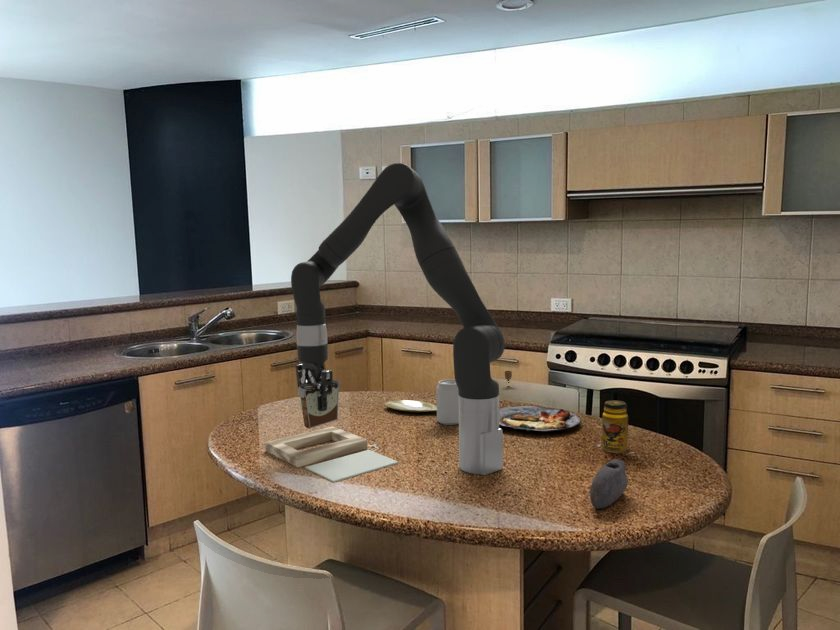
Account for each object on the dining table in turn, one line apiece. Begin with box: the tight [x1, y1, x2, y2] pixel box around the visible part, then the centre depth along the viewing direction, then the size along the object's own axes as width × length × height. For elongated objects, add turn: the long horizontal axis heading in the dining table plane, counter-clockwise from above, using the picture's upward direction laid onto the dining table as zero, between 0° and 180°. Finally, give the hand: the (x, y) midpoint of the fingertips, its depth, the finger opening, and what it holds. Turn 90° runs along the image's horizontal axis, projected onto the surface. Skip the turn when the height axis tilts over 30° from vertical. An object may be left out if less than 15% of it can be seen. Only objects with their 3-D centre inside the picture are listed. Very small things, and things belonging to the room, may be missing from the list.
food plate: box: [499, 405, 582, 432], centre depth 189 cm, size 25×23×4 cm
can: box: [435, 379, 459, 426], centre depth 192 cm, size 8×8×12 cm
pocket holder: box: [265, 425, 368, 468], centre depth 170 cm, size 16×20×2 cm
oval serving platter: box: [384, 399, 437, 413], centre depth 202 cm, size 35×11×2 cm, turn 62°
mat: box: [305, 449, 399, 483], centre depth 158 cm, size 12×18×1 cm, turn 130°
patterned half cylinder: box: [297, 379, 341, 430], centre depth 169 cm, size 12×6×10 cm, turn 141°
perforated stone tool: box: [589, 458, 629, 510], centre depth 135 cm, size 15×5×7 cm, turn 144°
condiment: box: [596, 400, 635, 454], centre depth 166 cm, size 7×8×12 cm
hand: (315, 407), depth 169 cm, fingers closed on patterned half cylinder, 6 cm apart
